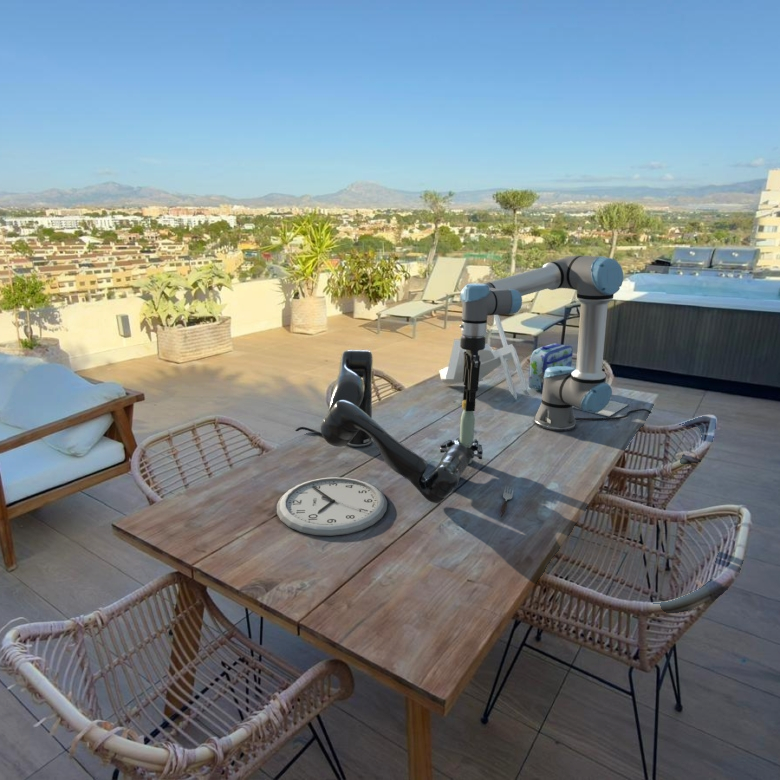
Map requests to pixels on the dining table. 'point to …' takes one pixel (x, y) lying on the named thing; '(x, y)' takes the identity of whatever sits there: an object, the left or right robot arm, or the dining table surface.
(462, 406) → the cap
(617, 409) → the invitation card
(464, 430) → the bottle
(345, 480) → the wall clock
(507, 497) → the fork
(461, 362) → the white plastic object
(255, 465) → the dining table surface
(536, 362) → the lunch box
